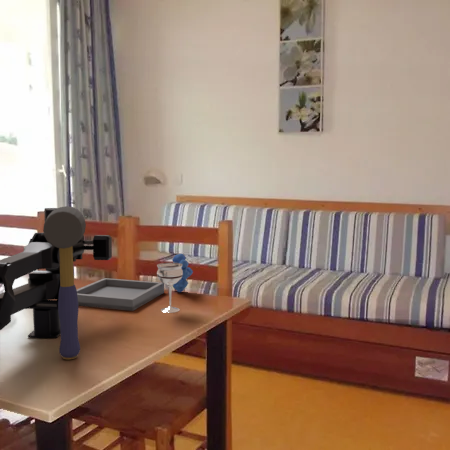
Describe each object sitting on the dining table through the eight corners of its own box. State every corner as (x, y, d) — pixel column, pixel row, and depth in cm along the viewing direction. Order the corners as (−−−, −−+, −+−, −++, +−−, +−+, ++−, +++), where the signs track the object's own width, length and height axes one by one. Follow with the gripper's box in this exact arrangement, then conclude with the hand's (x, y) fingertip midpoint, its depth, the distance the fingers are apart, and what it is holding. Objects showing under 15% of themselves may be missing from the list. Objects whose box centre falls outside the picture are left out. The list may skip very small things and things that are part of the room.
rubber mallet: (53, 348, 106) (48, 204, 102) (90, 345, 107) (86, 204, 104) (46, 372, 94) (39, 210, 90) (88, 368, 95) (83, 209, 92)
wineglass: (171, 304, 139) (171, 261, 137) (188, 309, 134) (188, 265, 132) (152, 309, 134) (151, 265, 132) (168, 315, 129) (168, 268, 128)
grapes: (200, 295, 149) (200, 255, 147) (178, 297, 146) (177, 256, 144) (186, 286, 159) (186, 248, 158) (166, 288, 157) (165, 250, 155)
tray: (132, 310, 133) (132, 299, 132) (66, 304, 139) (66, 293, 138) (164, 292, 152) (164, 282, 151) (104, 287, 158) (104, 278, 157)
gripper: (100, 217, 121) (120, 214, 136) (25, 216, 123) (53, 213, 138) (100, 263, 122) (120, 255, 137) (26, 262, 124) (54, 254, 139)
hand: (87, 243), depth 138 cm, fingers open, 9 cm apart
